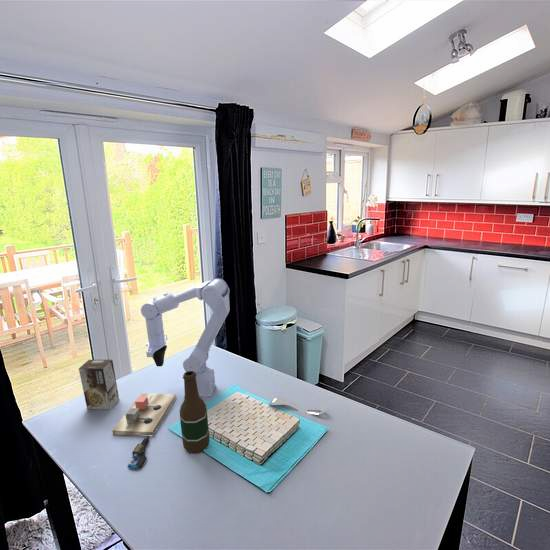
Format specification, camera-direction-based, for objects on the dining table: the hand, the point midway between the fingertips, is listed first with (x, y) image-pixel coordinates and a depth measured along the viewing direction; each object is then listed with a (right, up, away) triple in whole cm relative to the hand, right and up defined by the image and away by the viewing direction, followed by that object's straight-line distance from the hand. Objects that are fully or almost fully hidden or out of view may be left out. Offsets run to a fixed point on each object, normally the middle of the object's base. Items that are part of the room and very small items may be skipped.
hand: (159, 365), depth 135 cm
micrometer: (+5, -19, -30) cm, 36 cm away
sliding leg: (0, -11, -12) cm, 17 cm away
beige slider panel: (0, -13, -13) cm, 19 cm away
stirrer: (+50, -12, -13) cm, 53 cm away
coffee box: (-18, -12, -7) cm, 23 cm away
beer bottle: (+20, -17, -28) cm, 38 cm away
